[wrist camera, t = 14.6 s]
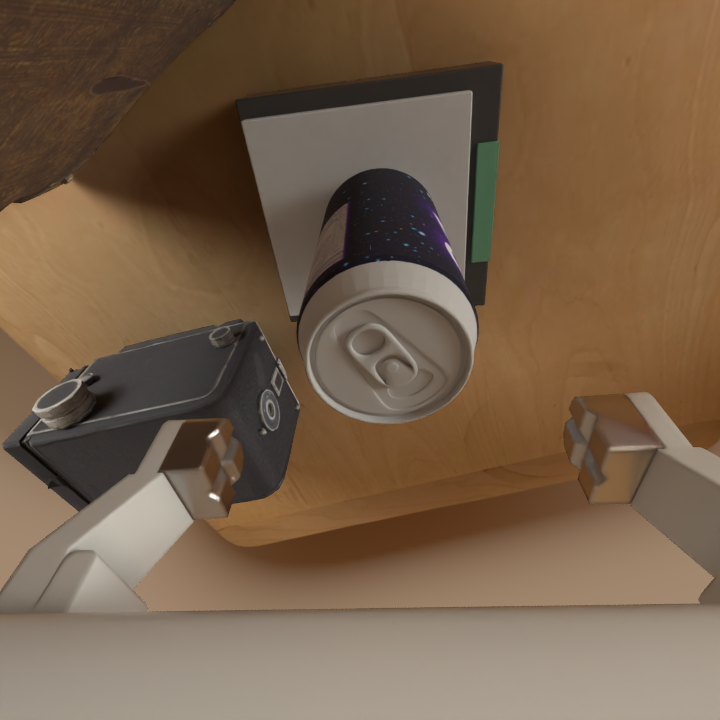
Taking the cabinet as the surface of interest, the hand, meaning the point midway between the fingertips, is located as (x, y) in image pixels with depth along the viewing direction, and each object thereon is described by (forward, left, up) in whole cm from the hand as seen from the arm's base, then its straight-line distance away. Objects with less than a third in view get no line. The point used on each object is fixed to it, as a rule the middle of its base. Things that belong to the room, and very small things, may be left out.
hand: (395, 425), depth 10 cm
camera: (+14, +10, -18) cm, 25 cm away
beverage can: (0, 0, -15) cm, 15 cm away
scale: (0, 0, -17) cm, 17 cm away
